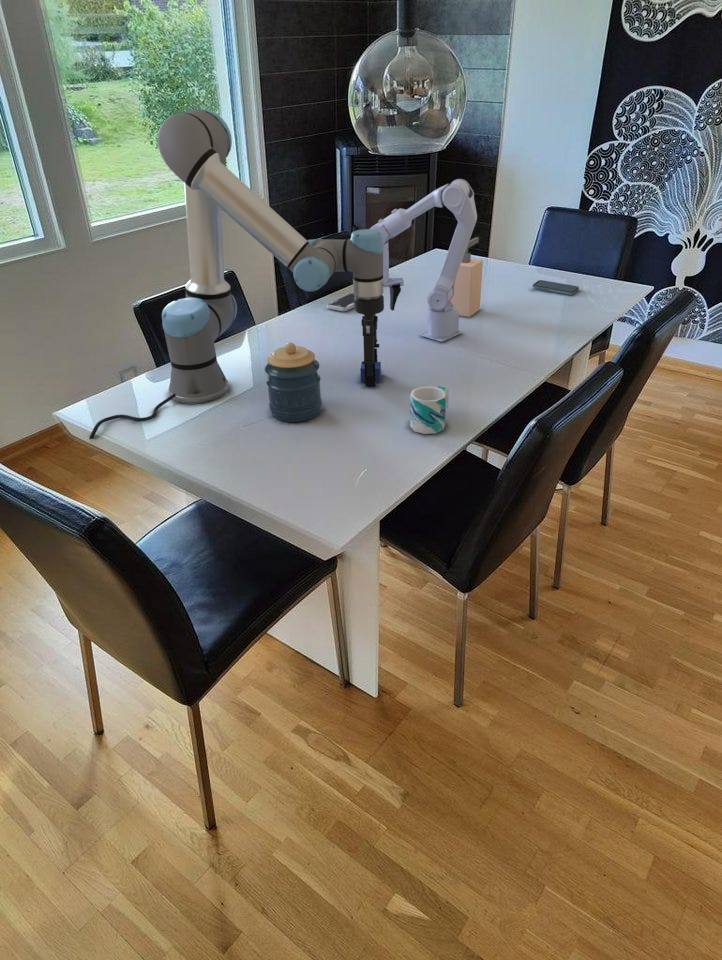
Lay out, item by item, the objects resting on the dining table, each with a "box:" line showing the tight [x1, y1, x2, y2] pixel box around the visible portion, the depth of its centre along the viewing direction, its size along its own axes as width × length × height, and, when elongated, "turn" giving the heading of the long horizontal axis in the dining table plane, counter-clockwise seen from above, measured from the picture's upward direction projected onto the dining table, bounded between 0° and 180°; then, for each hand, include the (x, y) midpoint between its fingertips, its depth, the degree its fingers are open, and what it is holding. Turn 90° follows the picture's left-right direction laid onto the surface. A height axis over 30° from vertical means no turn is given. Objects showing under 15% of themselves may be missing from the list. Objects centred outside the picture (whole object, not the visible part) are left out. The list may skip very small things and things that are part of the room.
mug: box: [409, 385, 450, 435], centre depth 156 cm, size 8×12×8 cm
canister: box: [264, 342, 323, 423], centre depth 161 cm, size 13×13×18 cm
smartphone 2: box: [531, 279, 580, 296], centre depth 239 cm, size 8×2×15 cm
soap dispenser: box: [451, 236, 484, 318], centre depth 219 cm, size 13×9×22 cm
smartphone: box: [326, 292, 355, 312], centre depth 233 cm, size 8×1×15 cm
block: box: [360, 361, 382, 384], centre depth 180 cm, size 4×5×4 cm
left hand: (371, 378), depth 181 cm, fingers open, 8 cm apart
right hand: (380, 310), depth 207 cm, fingers open, 7 cm apart
